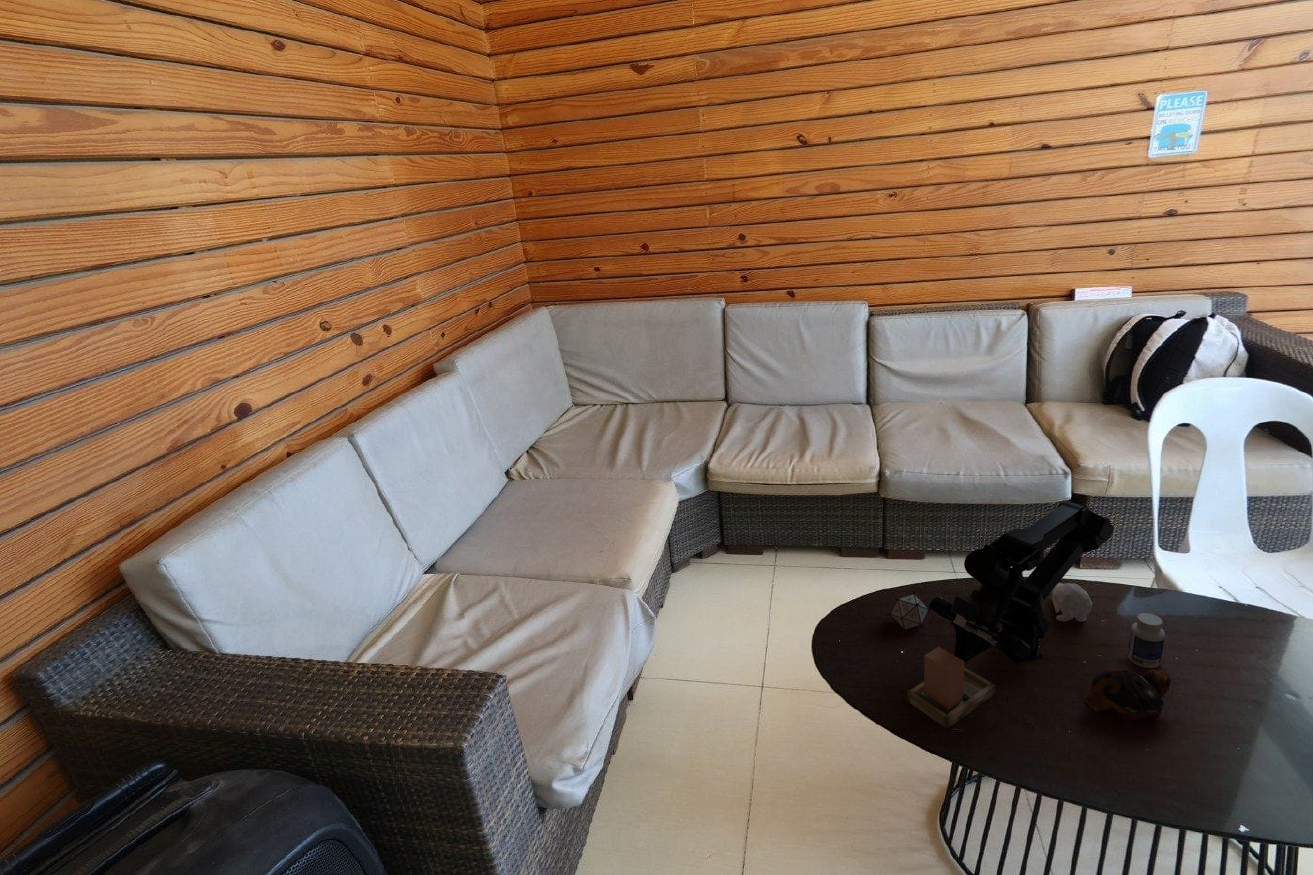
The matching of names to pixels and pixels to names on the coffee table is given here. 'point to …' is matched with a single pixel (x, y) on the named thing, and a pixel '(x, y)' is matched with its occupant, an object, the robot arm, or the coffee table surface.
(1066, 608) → the white bear figurine
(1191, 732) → the coffee table surface
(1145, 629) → the pill bottle
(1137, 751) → the coffee table surface
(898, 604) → the game die
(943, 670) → the terracotta block
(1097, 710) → the decorative turtle
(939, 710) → the box
